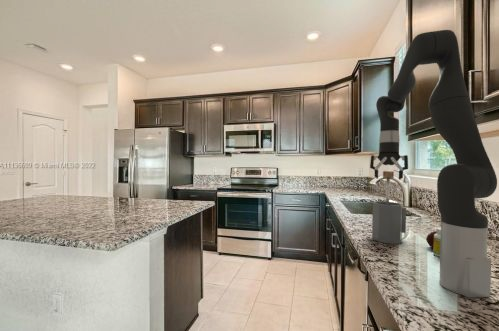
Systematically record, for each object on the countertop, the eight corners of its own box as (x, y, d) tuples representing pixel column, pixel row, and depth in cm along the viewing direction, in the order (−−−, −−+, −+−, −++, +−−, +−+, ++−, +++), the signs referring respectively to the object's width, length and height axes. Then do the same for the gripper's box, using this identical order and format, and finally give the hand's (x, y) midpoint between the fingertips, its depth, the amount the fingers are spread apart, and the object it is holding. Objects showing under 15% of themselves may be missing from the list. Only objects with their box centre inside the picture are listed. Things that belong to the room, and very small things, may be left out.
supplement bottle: (432, 255, 87) (433, 228, 87) (434, 251, 91) (434, 226, 91) (451, 259, 83) (452, 232, 83) (452, 255, 87) (453, 229, 87)
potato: (455, 250, 93) (455, 232, 93) (443, 253, 89) (444, 235, 89) (433, 244, 99) (433, 227, 99) (422, 247, 96) (422, 229, 96)
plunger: (403, 215, 100) (404, 171, 100) (384, 215, 99) (385, 171, 99) (389, 211, 108) (390, 171, 108) (372, 211, 108) (373, 170, 107)
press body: (414, 244, 99) (415, 205, 99) (382, 244, 98) (383, 205, 98) (395, 235, 110) (396, 201, 110) (366, 236, 109) (367, 201, 109)
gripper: (408, 142, 103) (407, 179, 103) (371, 143, 110) (370, 177, 110) (409, 140, 97) (408, 180, 97) (370, 141, 104) (369, 178, 104)
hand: (388, 179), depth 104 cm, fingers open, 8 cm apart
